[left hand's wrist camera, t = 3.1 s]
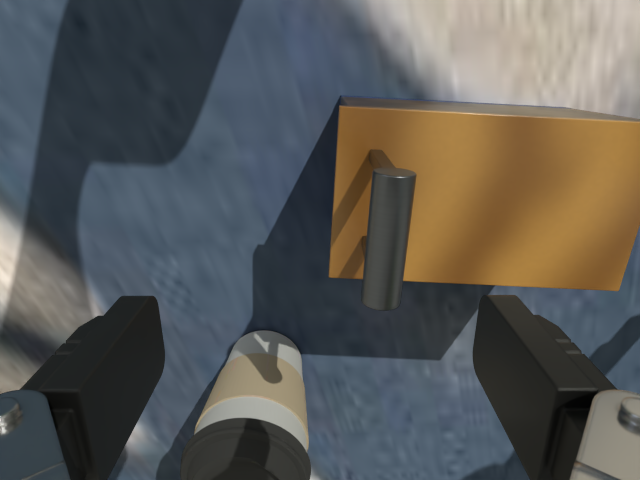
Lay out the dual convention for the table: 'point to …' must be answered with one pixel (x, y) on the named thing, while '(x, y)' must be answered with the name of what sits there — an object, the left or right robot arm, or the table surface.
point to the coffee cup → (253, 416)
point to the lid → (482, 200)
